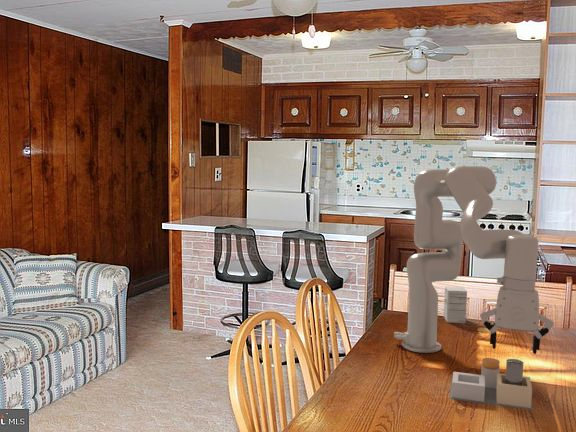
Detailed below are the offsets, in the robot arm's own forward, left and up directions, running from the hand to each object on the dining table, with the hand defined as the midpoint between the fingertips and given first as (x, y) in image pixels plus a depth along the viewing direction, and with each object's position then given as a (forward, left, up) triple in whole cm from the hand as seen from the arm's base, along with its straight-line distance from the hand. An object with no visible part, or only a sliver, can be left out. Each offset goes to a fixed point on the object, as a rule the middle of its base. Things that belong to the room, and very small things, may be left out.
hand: (513, 349), depth 151 cm
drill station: (-5, +2, -14) cm, 16 cm away
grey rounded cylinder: (0, -1, -13) cm, 13 cm away
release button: (-5, +8, -12) cm, 15 cm away
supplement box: (-17, +76, -15) cm, 80 cm away
